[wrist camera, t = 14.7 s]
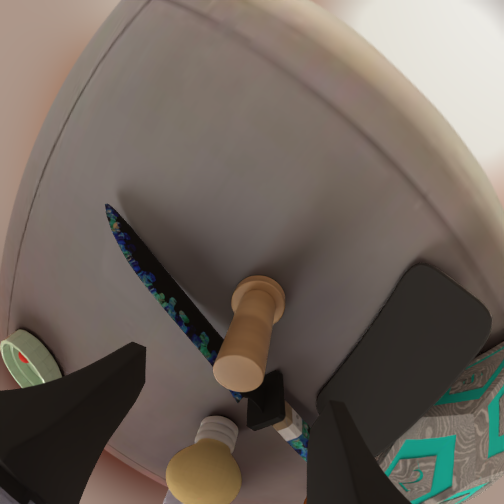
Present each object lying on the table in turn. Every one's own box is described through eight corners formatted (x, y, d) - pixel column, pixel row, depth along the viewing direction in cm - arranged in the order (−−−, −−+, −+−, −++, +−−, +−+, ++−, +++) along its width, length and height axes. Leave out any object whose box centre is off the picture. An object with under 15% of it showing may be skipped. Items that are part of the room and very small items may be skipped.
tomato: (36, 358, 27) (25, 352, 27) (32, 348, 27) (21, 342, 26) (28, 368, 26) (18, 362, 26) (24, 358, 25) (14, 352, 25)
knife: (345, 451, 23) (346, 485, 18) (319, 460, 23) (316, 493, 19) (149, 180, 21) (113, 180, 16) (124, 204, 22) (87, 208, 17)
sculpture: (490, 323, 25) (309, 498, 23) (499, 247, 19) (244, 495, 16) (560, 371, 14) (363, 571, 12) (603, 303, 8) (317, 612, 5)
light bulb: (191, 433, 26) (162, 506, 17) (188, 396, 24) (150, 480, 15) (250, 445, 26) (232, 523, 16) (256, 410, 24) (236, 503, 14)
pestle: (276, 326, 21) (264, 408, 13) (228, 312, 21) (195, 387, 13) (292, 283, 19) (288, 357, 12) (240, 268, 20) (207, 333, 12)
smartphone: (308, 404, 22) (415, 253, 17) (315, 401, 22) (419, 254, 18) (361, 468, 16) (501, 318, 11) (366, 463, 17) (502, 317, 12)
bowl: (71, 399, 29) (57, 415, 26) (24, 368, 30) (11, 380, 26) (58, 348, 26) (40, 364, 23) (10, 316, 26) (-7, 328, 23)
